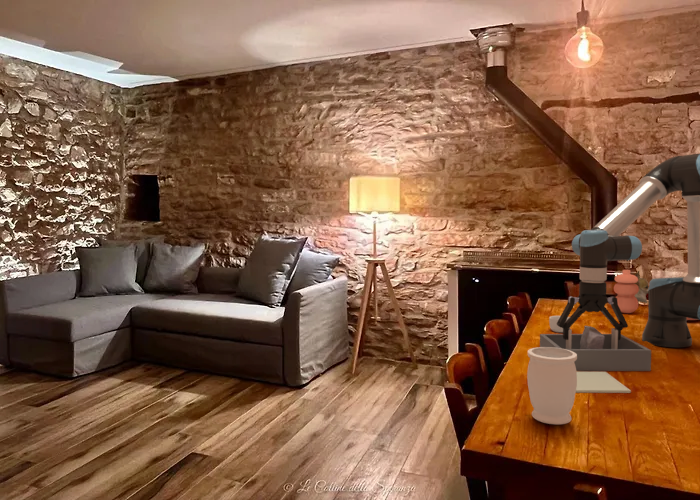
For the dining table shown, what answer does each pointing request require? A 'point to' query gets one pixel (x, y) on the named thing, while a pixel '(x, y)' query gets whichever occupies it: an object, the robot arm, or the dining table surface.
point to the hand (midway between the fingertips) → (591, 350)
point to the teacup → (555, 324)
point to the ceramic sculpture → (641, 288)
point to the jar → (552, 383)
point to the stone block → (591, 339)
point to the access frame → (603, 354)
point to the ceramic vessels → (628, 292)
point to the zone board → (598, 383)
